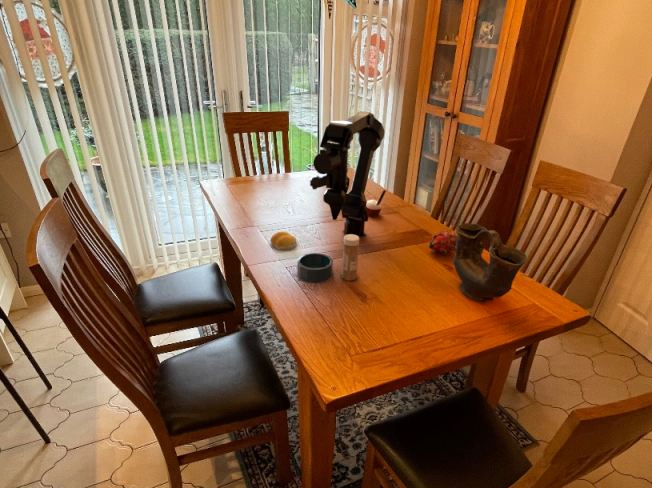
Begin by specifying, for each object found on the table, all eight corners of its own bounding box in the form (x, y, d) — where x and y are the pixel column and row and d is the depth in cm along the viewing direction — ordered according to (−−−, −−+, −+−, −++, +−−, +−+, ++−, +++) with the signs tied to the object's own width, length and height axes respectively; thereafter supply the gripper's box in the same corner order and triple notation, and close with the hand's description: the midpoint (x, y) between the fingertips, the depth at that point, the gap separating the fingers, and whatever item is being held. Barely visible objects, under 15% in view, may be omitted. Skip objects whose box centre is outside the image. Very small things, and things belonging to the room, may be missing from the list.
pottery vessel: (438, 274, 133) (448, 215, 123) (466, 269, 137) (479, 211, 127) (488, 319, 114) (506, 253, 104) (520, 311, 118) (540, 247, 107)
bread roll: (281, 252, 141) (281, 241, 139) (267, 242, 146) (266, 232, 144) (302, 246, 146) (301, 235, 143) (287, 237, 151) (287, 226, 149)
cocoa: (362, 211, 176) (363, 183, 169) (376, 210, 177) (378, 182, 171) (370, 220, 168) (372, 191, 162) (384, 219, 170) (387, 190, 164)
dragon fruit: (457, 254, 150) (429, 265, 146) (446, 234, 152) (418, 244, 148) (468, 243, 142) (439, 254, 138) (456, 222, 144) (427, 232, 140)
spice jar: (356, 281, 127) (359, 240, 120) (341, 280, 127) (343, 239, 120) (356, 273, 131) (359, 233, 124) (341, 273, 131) (343, 233, 124)
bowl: (324, 263, 136) (324, 251, 133) (337, 279, 128) (338, 266, 126) (293, 268, 132) (293, 256, 129) (304, 285, 124) (304, 271, 122)
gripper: (316, 156, 138) (316, 202, 146) (306, 172, 122) (306, 223, 130) (350, 159, 137) (348, 205, 145) (344, 175, 121) (342, 226, 129)
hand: (336, 214), depth 137 cm, fingers open, 9 cm apart
